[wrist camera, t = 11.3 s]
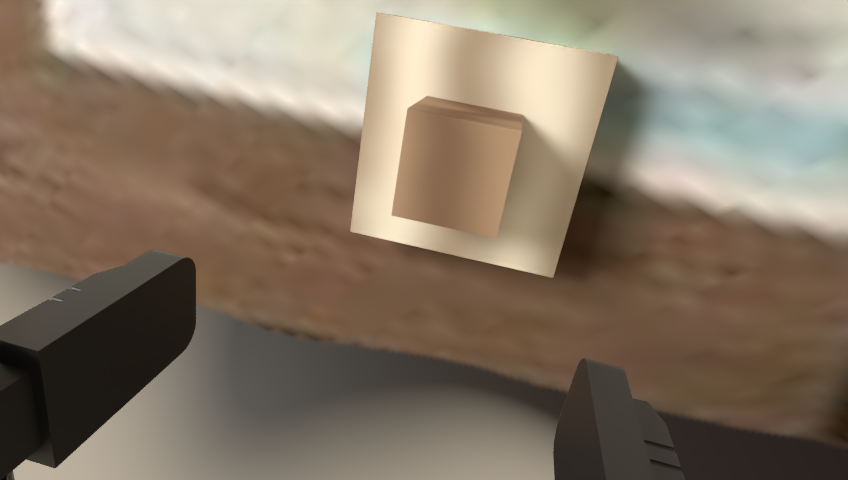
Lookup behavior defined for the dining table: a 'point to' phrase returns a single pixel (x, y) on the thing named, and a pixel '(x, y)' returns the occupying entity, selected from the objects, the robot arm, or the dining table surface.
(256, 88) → the dining table surface
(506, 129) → the walnut cube
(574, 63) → the beige square plate
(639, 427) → the robot arm
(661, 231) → the dining table surface
